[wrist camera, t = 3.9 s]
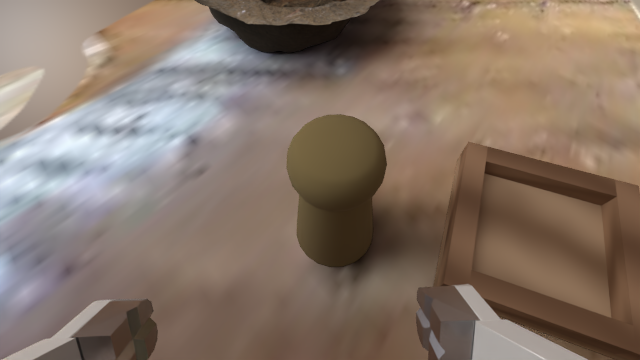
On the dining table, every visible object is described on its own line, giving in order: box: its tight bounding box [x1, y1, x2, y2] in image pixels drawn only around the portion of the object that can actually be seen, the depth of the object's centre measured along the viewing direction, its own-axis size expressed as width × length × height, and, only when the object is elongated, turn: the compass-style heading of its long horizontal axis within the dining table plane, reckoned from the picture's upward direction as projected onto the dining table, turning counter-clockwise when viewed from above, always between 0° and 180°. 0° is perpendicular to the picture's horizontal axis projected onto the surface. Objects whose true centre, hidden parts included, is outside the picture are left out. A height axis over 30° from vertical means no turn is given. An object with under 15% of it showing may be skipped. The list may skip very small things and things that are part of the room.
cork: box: [287, 114, 387, 267], centre depth 19 cm, size 6×6×11 cm
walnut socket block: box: [433, 142, 640, 360], centre depth 22 cm, size 12×12×2 cm
